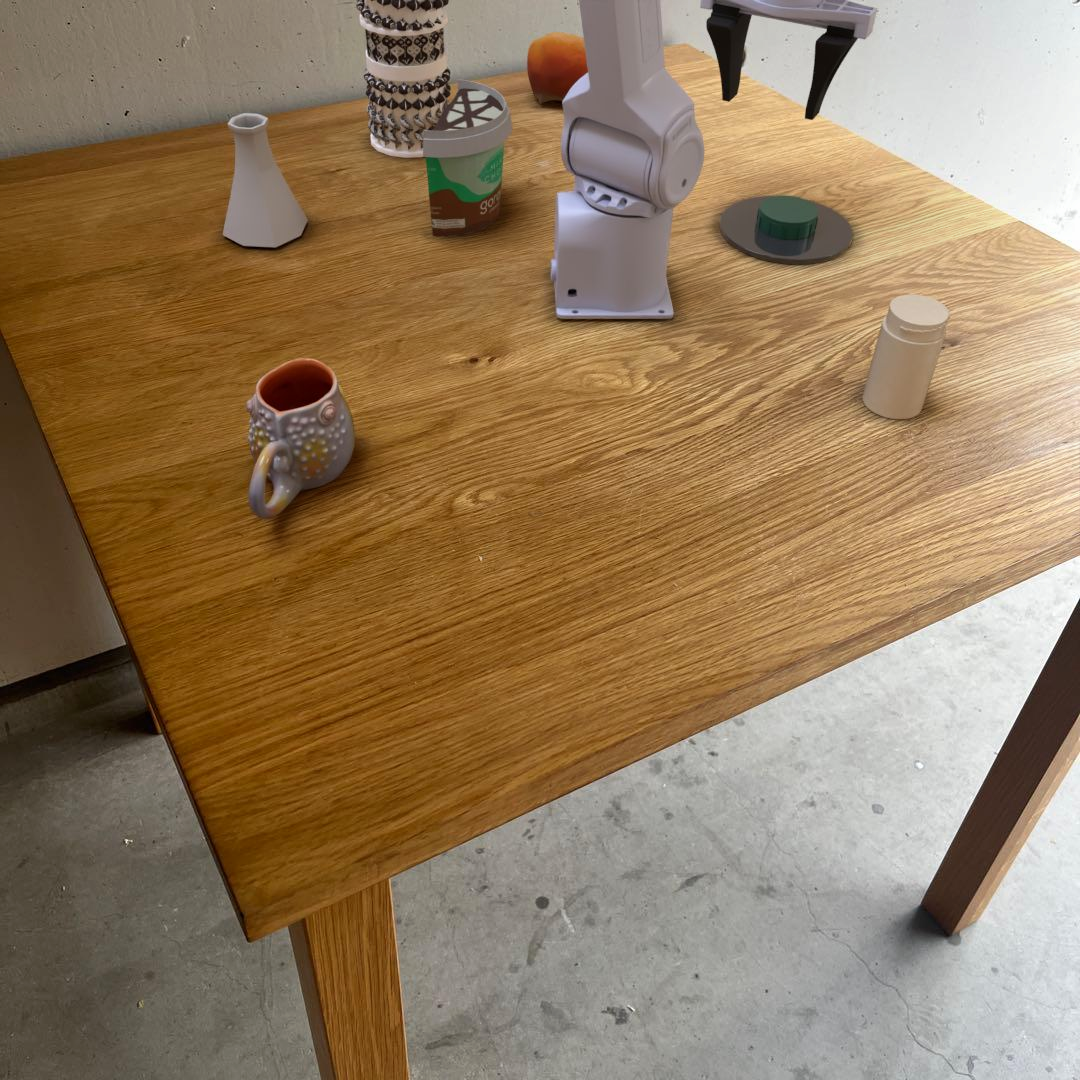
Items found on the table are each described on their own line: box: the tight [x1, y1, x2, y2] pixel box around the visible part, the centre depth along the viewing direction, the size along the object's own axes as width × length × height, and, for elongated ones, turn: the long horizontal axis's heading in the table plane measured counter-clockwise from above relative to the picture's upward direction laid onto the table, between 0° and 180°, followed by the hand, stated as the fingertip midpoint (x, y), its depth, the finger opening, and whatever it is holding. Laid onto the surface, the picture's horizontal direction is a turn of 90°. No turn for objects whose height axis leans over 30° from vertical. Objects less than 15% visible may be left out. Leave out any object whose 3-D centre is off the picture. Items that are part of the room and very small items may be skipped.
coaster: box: [718, 195, 854, 265], centre depth 100 cm, size 12×12×1 cm
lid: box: [756, 195, 818, 240], centre depth 100 cm, size 5×5×2 cm
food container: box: [422, 78, 513, 237], centre depth 98 cm, size 12×6×10 cm, turn 168°
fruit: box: [526, 31, 588, 106], centre depth 119 cm, size 8×8×8 cm
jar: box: [861, 293, 951, 420], centre depth 79 cm, size 4×4×8 cm
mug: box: [245, 357, 356, 520], centre depth 71 cm, size 12×7×7 cm, turn 167°
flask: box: [222, 112, 309, 248], centre depth 95 cm, size 7×7×10 cm
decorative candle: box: [356, 0, 452, 159], centre depth 104 cm, size 9×9×25 cm
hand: (770, 106), depth 97 cm, fingers open, 7 cm apart
